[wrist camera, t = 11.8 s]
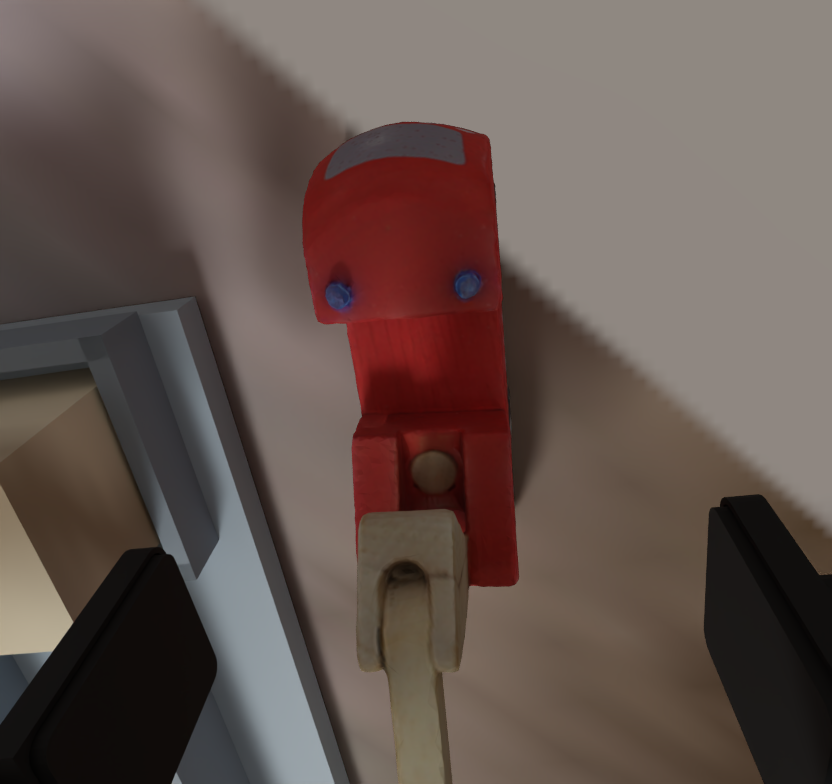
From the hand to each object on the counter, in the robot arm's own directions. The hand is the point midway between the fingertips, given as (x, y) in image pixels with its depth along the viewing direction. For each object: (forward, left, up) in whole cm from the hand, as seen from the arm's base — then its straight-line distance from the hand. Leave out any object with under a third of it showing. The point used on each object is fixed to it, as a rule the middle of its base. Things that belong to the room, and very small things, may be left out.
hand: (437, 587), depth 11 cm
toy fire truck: (+1, 0, -6) cm, 6 cm away
